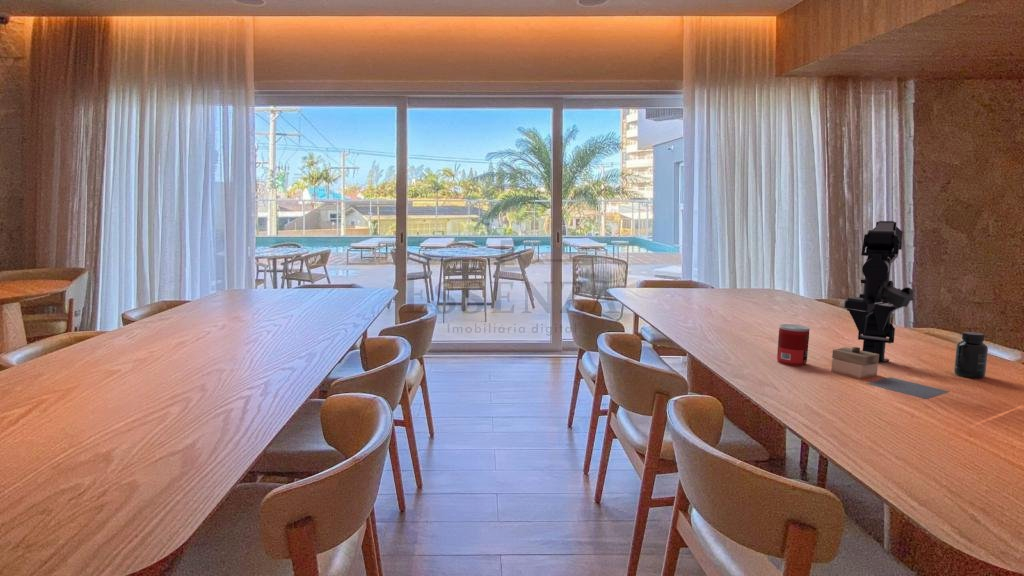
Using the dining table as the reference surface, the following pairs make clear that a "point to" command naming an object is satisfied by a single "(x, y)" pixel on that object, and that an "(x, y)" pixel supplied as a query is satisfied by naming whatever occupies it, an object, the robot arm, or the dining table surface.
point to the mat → (908, 388)
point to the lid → (855, 356)
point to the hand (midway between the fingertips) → (871, 332)
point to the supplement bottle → (971, 356)
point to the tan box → (853, 369)
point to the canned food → (793, 344)
